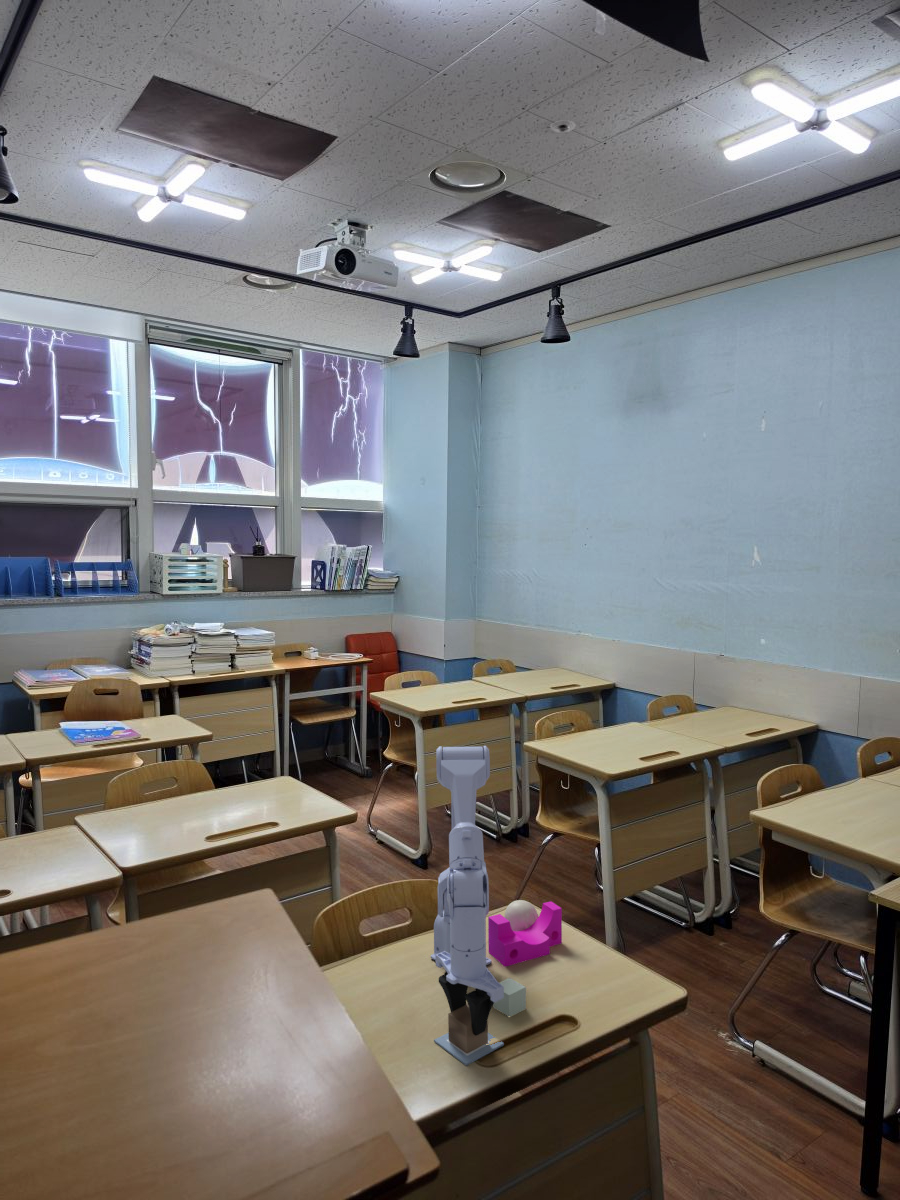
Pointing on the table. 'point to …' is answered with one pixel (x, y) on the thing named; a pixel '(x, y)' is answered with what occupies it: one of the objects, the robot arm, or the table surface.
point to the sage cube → (512, 998)
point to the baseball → (521, 915)
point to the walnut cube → (464, 1030)
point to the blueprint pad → (470, 1056)
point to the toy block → (525, 936)
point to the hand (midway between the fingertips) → (468, 1025)
